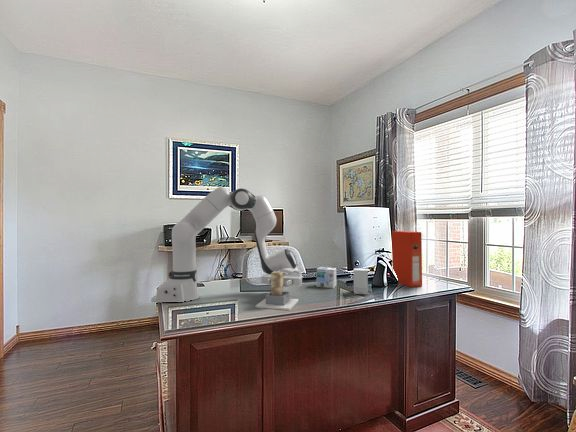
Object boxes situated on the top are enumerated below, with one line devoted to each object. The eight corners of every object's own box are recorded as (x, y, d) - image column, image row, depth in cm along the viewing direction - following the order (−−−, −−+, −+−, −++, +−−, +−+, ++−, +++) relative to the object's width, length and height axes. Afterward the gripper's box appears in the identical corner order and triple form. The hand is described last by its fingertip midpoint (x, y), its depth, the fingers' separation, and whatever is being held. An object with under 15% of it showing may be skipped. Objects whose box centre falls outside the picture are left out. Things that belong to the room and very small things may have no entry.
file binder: (410, 287, 178) (410, 232, 178) (392, 281, 194) (392, 231, 194) (422, 286, 180) (421, 232, 180) (402, 280, 196) (402, 230, 197)
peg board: (255, 307, 138) (255, 296, 138) (267, 298, 154) (267, 288, 154) (289, 310, 134) (289, 299, 134) (298, 300, 149) (298, 290, 150)
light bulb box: (316, 286, 180) (316, 268, 180) (319, 284, 186) (319, 266, 186) (334, 288, 176) (333, 269, 176) (336, 285, 182) (336, 267, 182)
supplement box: (368, 294, 161) (367, 270, 161) (353, 293, 163) (353, 270, 163) (367, 291, 169) (367, 268, 169) (353, 290, 170) (353, 267, 170)
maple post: (271, 303, 142) (271, 273, 143) (274, 300, 147) (274, 271, 147) (280, 303, 141) (280, 273, 141) (283, 301, 146) (283, 271, 146)
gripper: (266, 270, 159) (256, 275, 146) (304, 272, 154) (298, 277, 140) (266, 282, 159) (256, 288, 146) (304, 284, 154) (298, 291, 140)
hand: (277, 283), depth 143 cm, fingers open, 7 cm apart
